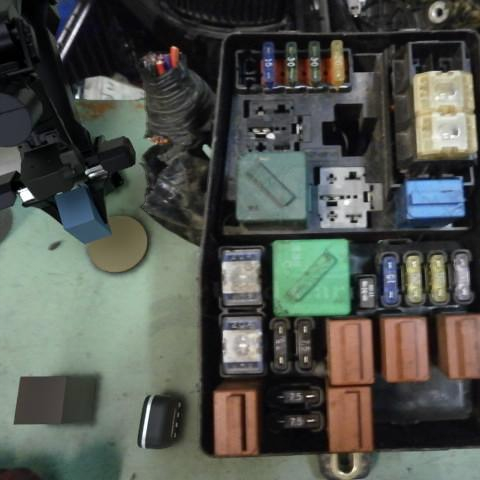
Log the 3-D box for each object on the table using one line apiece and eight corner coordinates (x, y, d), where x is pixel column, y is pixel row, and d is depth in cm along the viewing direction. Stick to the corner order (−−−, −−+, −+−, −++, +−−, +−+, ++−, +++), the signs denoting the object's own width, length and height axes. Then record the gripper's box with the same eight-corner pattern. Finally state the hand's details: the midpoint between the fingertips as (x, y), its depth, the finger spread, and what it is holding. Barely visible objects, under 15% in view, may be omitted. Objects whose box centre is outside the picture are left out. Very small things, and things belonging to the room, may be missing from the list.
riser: (50, 421, 80) (13, 424, 69) (56, 379, 81) (20, 376, 71) (92, 420, 80) (60, 424, 69) (96, 378, 82) (66, 376, 71)
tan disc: (79, 238, 88) (76, 236, 86) (130, 207, 89) (128, 204, 88) (108, 285, 86) (105, 283, 84) (159, 252, 87) (158, 250, 86)
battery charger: (182, 445, 79) (164, 452, 68) (156, 443, 79) (134, 450, 68) (189, 396, 81) (173, 395, 70) (164, 393, 81) (143, 393, 70)
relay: (84, 244, 76) (63, 229, 69) (75, 212, 77) (54, 195, 70) (112, 234, 76) (94, 219, 69) (102, 203, 77) (84, 185, 71)
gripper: (-65, 167, 58) (11, 281, 66) (106, 113, 61) (158, 230, 69) (-37, 138, 68) (26, 241, 76) (110, 93, 70) (156, 197, 78)
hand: (91, 228), depth 74 cm, fingers closed on relay, 4 cm apart
